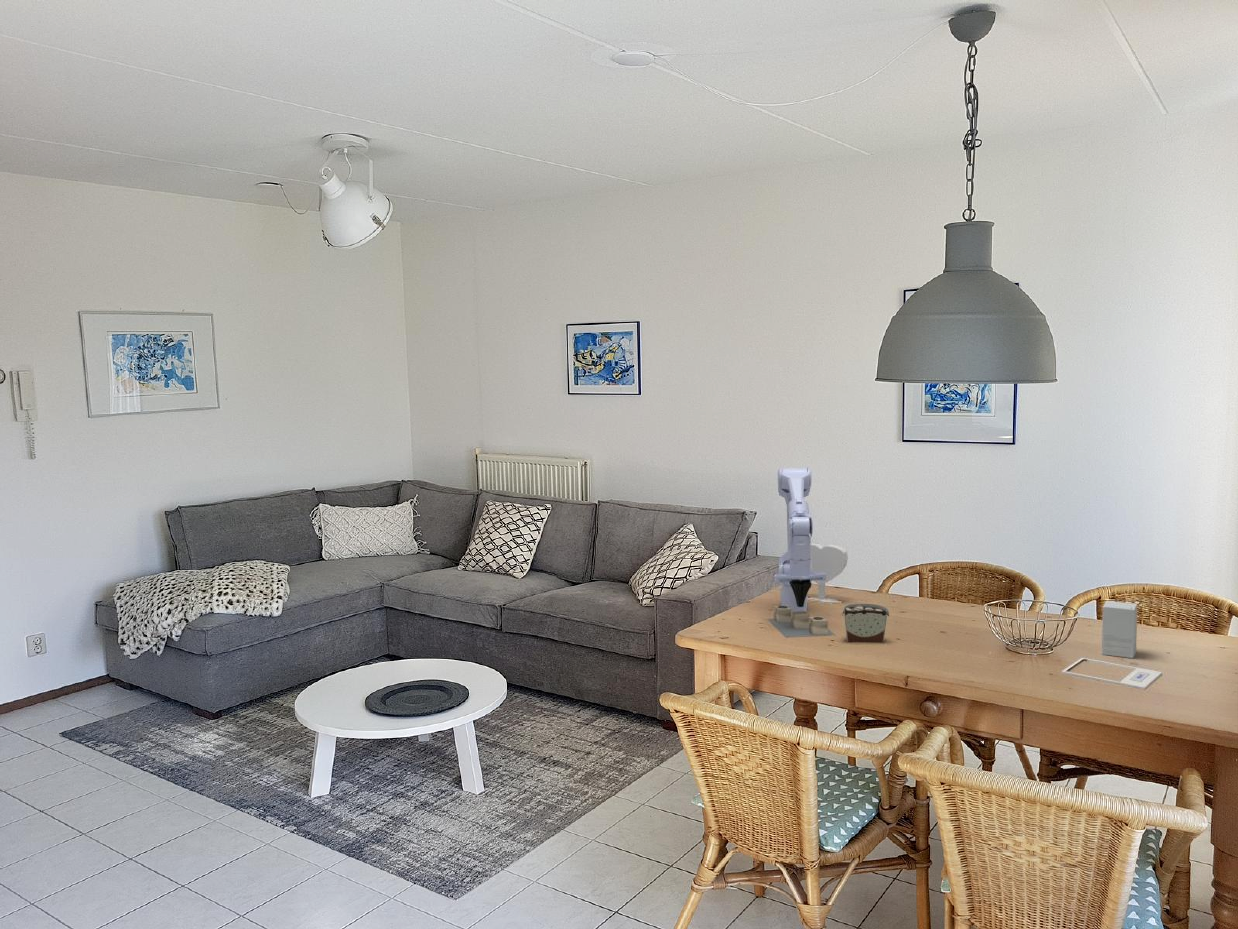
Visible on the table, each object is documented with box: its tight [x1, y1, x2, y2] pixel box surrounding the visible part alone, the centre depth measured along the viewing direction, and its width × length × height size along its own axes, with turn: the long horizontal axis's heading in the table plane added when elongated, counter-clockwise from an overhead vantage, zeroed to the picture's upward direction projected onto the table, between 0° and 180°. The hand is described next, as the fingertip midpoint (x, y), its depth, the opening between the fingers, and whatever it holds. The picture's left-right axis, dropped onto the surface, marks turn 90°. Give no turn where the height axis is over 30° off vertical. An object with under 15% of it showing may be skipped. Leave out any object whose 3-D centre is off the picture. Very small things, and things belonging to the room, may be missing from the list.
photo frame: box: [1061, 657, 1163, 690], centre depth 227 cm, size 15×1×18 cm
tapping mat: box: [766, 617, 836, 639], centre depth 270 cm, size 20×14×1 cm
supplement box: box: [1101, 600, 1138, 659], centre depth 243 cm, size 7×7×13 cm
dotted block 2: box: [809, 616, 829, 635], centre depth 263 cm, size 4×4×4 cm
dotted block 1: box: [773, 605, 792, 623], centre depth 276 cm, size 4×4×4 cm
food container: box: [841, 603, 890, 644], centre depth 256 cm, size 12×6×10 cm, turn 84°
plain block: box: [791, 611, 810, 629], centre depth 269 cm, size 4×4×4 cm
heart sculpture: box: [808, 542, 849, 603], centre depth 302 cm, size 16×5×18 cm, turn 61°
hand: (800, 606), depth 269 cm, fingers closed
